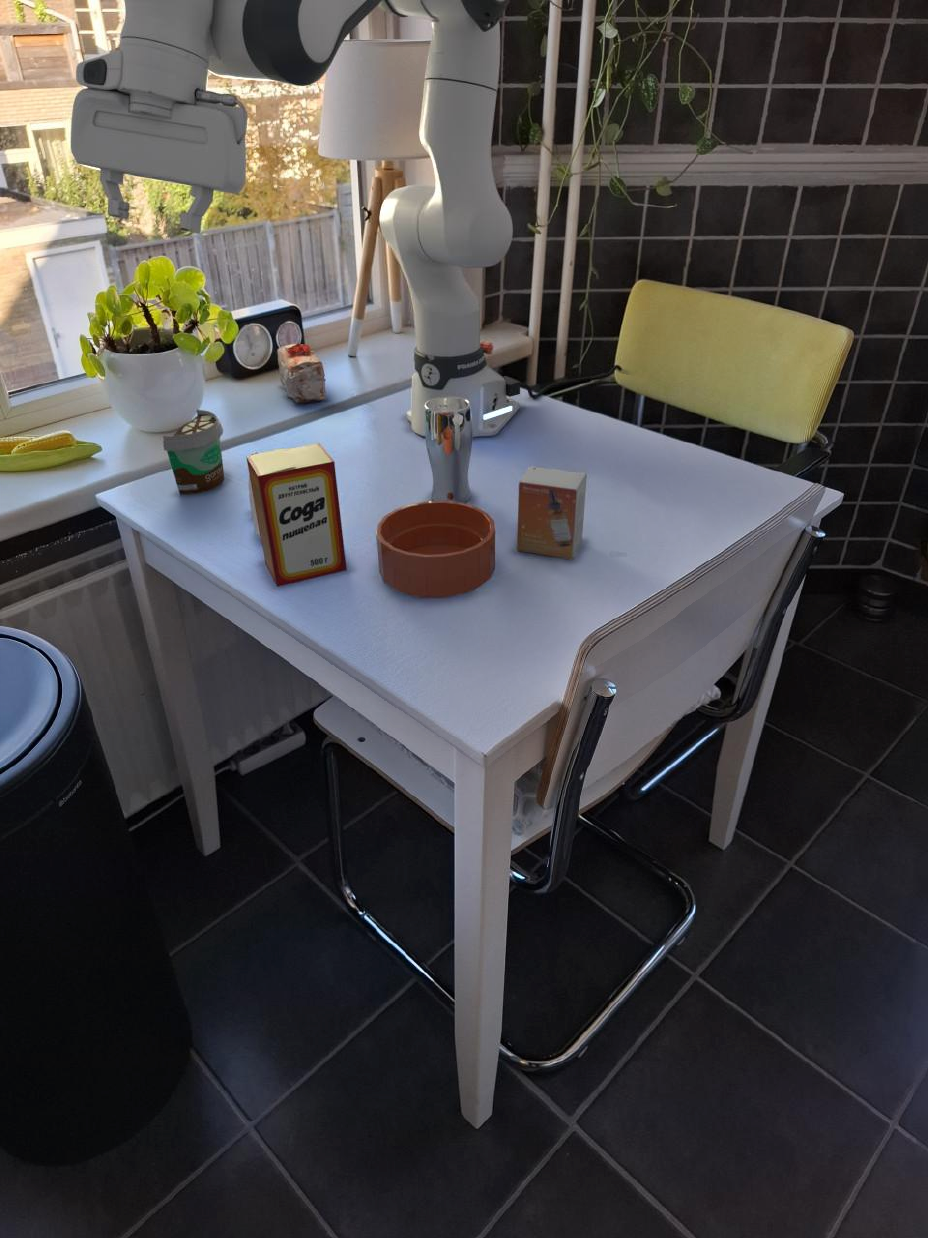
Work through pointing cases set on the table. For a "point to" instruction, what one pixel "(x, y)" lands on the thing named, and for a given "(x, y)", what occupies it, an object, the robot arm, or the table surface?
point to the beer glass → (449, 447)
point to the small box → (551, 512)
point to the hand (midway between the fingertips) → (153, 224)
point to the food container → (196, 454)
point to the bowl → (436, 548)
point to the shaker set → (253, 507)
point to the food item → (301, 373)
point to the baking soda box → (298, 513)
